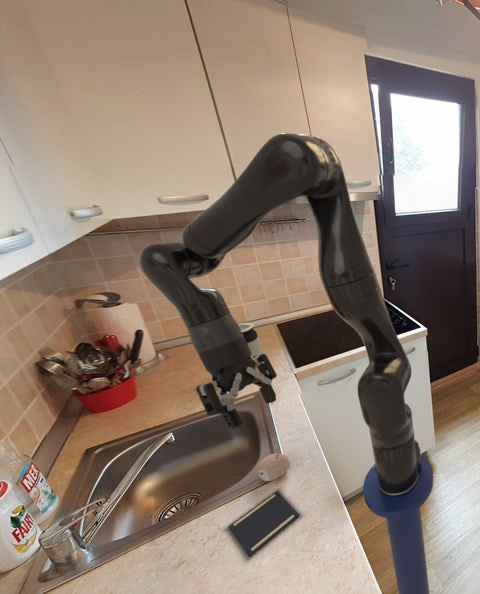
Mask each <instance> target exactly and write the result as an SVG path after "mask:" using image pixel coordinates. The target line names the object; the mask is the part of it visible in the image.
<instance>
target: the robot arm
mask: <svg viewBox="0 0 480 594" xmlns="http://www.w3.org/2000/svg"><path fill="white" fill-rule="evenodd" d="M298 198H305V199H306V201H307V203H308V206H309V208H310V211H311V213H312V216H313V218H314V221H315V225H316V229H317V230H316V231H317V242H318V243H317V244H318V245H317V259H318V261H317V262H318V273H319V278H320V281H321V284H322V286H323V289H324V291H325V293H326V295H327V298H328V300H329V303H330V305H331V307H332V309H333V311H334V312H335V313H336V314H337V316H339V318H340V319H341V320H342V321H344V322H345V323H346V324H347V325H348V326H349V327H351V328H352V329H353V330H354V331H355V332H356V333H357V334H358V336H359V337H360V339H361V340H362V343H363V346H364V349H365V351H366V354H367V357H368V358H367V359H368V362H369V363H368V365H367V367H366V368H365V369H364V372H363V373H362V375H361V376H360V377H359V379H358V381H357V397H358V402H359V406H360V410H361V415H362V418H363V421H364V423H365V424H366V426H367V427H368V429H369V435H370V440H371V447H372V452H373V459H374V464H375V465H376V468H375V471H376V472H377V477H378V485H379V489H380V491H381V492H382V493H383V494H385V495H386V496H389V497H399V496H402V495H405V494H407V493H408V492H410V491H411V490H412V489H413V488H414V487H415V485H416V484H417V481H418V477H419V474H420V473H421V464H420V457H421V455H422V453H421V448H420V444H419V442H418V440H415V431H414V421H413V412H412V409H411V407H410V405H409V404H407V403H406V402H405V401H406V400H405V393H406V390H407V388H408V386H409V382H410V381H411V377H412V365H411V363H410V360H409V358H408V356H407V353H406V351H405V350H404V348H403V346H402V343H401V341H400V339H399V337H398V334H397V332H396V330H395V328H394V325H393V323H392V320H391V316H390V312H389V311H388V307H387V305H386V302H385V299H384V297H383V293H382V289H381V287H380V286H381V285H380V283H379V281H378V277H377V274H376V271H375V269H374V267H373V264H372V261H371V258H370V256H369V253H368V251H367V247H366V245H365V241H364V239H363V237H362V233H361V231H360V228H359V225H358V223H357V219H356V216H355V212H354V210H353V205H352V201H351V197H350V193H349V189H348V184H347V181H346V176H345V172H344V168H343V165H342V162H341V159H340V157H339V155H338V153H337V151H335V149H334V148H333V147H332V145H330V143H328V142H327V141H326V140H324V139H322V138H320V137H318V136H315V135H308V134H300V133H293V132H286V133H278V134H276V135H273V136H272V137H271V138H269V139H268V140H267V141H266V142H265V143H264V144H263V145H262V147H261V148H260V149H259V150H258V151H257V153H256V154H255V155H254V157H252V159H251V161H250V162H249V164H248V165H247V166H246V168H245V169H244V170H243V171H242V172H241V174H240V175H239V176H238V178H237V179H235V181H234V182H233V183H232V184H231V186H230V187H229V188H228V189H227V190H226V191H225V192H224V193H223V194H222V195H221V196H220V197H219V198H218V199H217V200H216V201H214V202H213V203H212V204H211V205H209V206H208V207H207V208H206V209H204V211H202V212H201V213H200V214H199V215H197V216H196V217H195V218H193V219H192V220H191V221H190V222H189V223H187V224H186V225H185V226H184V228H183V230H182V232H181V240H179V241H169V242H159V243H152V244H148V245H146V246H144V247H143V249H142V250H141V251H140V253H139V259H138V260H139V266H140V269H141V270H142V273H143V275H144V276H145V277H146V279H147V280H149V282H150V283H151V284H152V285H153V286H154V287H155V288H156V289H157V290H158V291H159V292H160V293H161V294H162V295H163V296H164V297H165V298H166V299H167V300H168V301H169V303H171V304H172V305H173V306H174V307H175V309H176V310H177V312H178V314H179V316H180V318H181V320H182V323H183V324H184V326H185V328H186V330H187V333H188V336H189V339H190V342H191V343H192V345H193V347H194V349H195V351H196V353H197V355H198V357H199V359H200V360H201V363H202V364H203V367H204V369H205V371H207V373H209V374H210V376H211V380H210V381H209V382H207V383H204V384H203V383H202V384H199V385H197V386H196V388H195V391H196V393H197V395H198V397H199V399H200V402H201V404H202V406H203V409H204V410H205V413H206V415H207V416H210V417H211V416H215V415H221V416H222V418H223V420H224V422H225V424H226V426H227V427H228V428H231V429H240V428H241V427H242V426H243V425H244V422H243V420H242V418H241V417H240V415H239V412H238V410H237V408H235V401H236V399H237V398H238V396H239V392H241V391H242V390H244V389H245V388H246V387H248V386H250V385H255V386H257V387H259V389H258V390H259V391H260V394H261V396H262V398H263V400H264V403H266V404H272V403H274V402H276V401H277V398H276V397H277V394H276V392H275V389H274V387H273V385H272V382H273V380H274V379H276V378H277V376H278V375H277V373H276V370H275V368H274V366H273V365H272V363H271V361H270V359H269V357H268V356H267V355H266V353H263V354H260V355H257V356H254V357H253V359H252V358H251V357H250V356H251V351H250V349H249V347H248V344H247V342H246V340H245V338H244V336H243V334H242V332H241V330H240V328H239V326H238V324H239V323H238V321H236V319H235V318H234V316H233V315H232V313H231V310H230V309H229V307H228V305H227V302H226V300H225V299H224V296H223V295H222V292H221V291H220V290H219V289H217V288H213V287H200V286H198V285H196V284H195V283H194V282H193V281H192V280H191V279H196V278H201V277H204V276H207V275H209V274H210V273H212V272H214V271H215V270H216V269H217V268H218V267H219V266H220V265H221V263H222V261H223V260H224V258H225V257H226V255H227V254H229V252H231V251H232V250H234V249H235V248H236V247H238V246H239V245H241V244H242V243H243V242H244V241H245V240H247V239H248V238H249V237H251V235H252V234H253V233H254V232H255V230H256V229H257V227H258V226H259V223H260V222H261V221H262V219H263V218H264V217H265V216H267V214H269V213H270V212H272V211H273V210H275V209H277V208H279V207H280V206H282V205H284V204H287V203H288V202H291V201H293V200H295V199H298ZM256 366H257V368H258V370H259V372H260V373H259V372H258V371H256V370H255V368H256ZM217 391H218V393H217Z"/></svg>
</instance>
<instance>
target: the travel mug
mask: <svg viewBox="0 0 480 594" xmlns="http://www.w3.org/2000/svg"><path fill="white" fill-rule="evenodd" d="M237 324H238V326H239V328H240V330H241V332H242V334H243V336H244V338H245V340H246V342H247V344H248V347H249V349H250V351H251V356H250V357H251V358H252V359H253V357H254V356H257V355H260V354H264V351H263V349H262V345H261V342H260V339H259V336H258V331H256V330H255V329H254V323H251V322H242V323H237ZM255 370H256V371H258V372H259V370H258V368H257V366H256V368H255ZM259 373H260V372H259Z"/></svg>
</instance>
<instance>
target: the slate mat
mask: <svg viewBox="0 0 480 594" xmlns="http://www.w3.org/2000/svg"><path fill="white" fill-rule="evenodd" d="M299 517H300V514H299V513H298V511H296V509H294V507H292V505H291V504H290V503H289V501H287V499H286V498H284V496H283V495H282V494H281V493H280V492H279V491H278V490H276V491H275V492H273V493H272V494H270V495H269V496H268V497H267V498H265V499H263V500H262V501H261V502H259V503H258V504H257V505H255V506H254V507H253V508H251V509H250V510H249V511H247V512H246V513H244V514H243V515H242V516H240V517H239V518H238V519H236V520H235V521H233V522H232V523H230V524H229V525H228V530H229V531H230V532H231V533H232V535H233V536H234V537H235V539H236V541H237V542H238V544H239V545H240V546H241V548H242V550H243V551H244V552H245V553H246V555H247V557H248V558H251V557H252V556H253V555H254V554H256V553H257V552H258V551H259V550H261V549H262V548H263V547H264V546H265V545H267V544H268V543H269V542H271V540H272V539H274V538H275V537H276V536H278V534H281V532H282V531H283V530H285V529H286V528H287V527H289V526H290V525H291V524H292V523H293V522H295V521H296V520H297V519H298V518H299Z"/></svg>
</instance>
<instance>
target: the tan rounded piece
mask: <svg viewBox="0 0 480 594" xmlns="http://www.w3.org/2000/svg"><path fill="white" fill-rule="evenodd" d="M290 464H291V463H290V459H289V458H288V456H287V455H285V454H282V453H279V452H278V453H276V452H275V453H270V454H268V455H266V456H265V457H263V458H261V460H259V462H258V463H257V464H256V466H255V472H256V474H258V476H259V478H260V479H261V480H263V481H264V482H271V481H276V480H277V479H279V478H282V477H283V476H284V475H285V474H286V473H287V471H288V469H290Z"/></svg>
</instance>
